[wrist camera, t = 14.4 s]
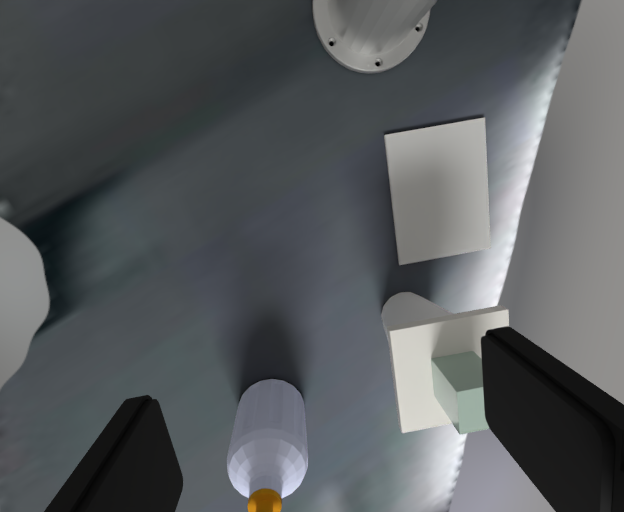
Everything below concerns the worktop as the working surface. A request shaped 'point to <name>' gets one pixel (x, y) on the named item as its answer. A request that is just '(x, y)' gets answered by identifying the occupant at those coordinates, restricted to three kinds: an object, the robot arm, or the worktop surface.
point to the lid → (442, 369)
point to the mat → (439, 190)
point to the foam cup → (409, 309)
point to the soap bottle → (268, 444)
